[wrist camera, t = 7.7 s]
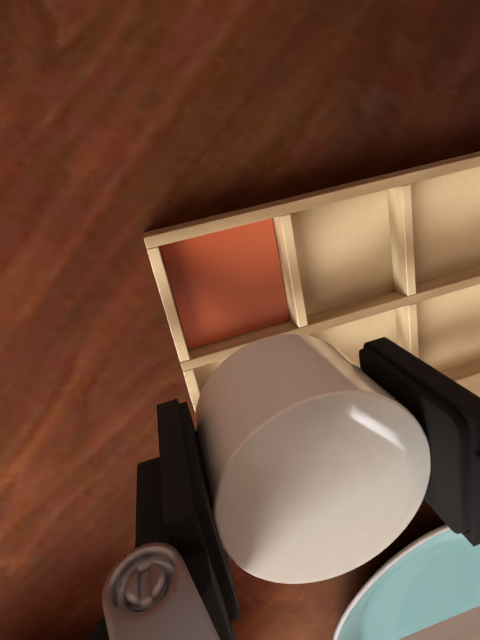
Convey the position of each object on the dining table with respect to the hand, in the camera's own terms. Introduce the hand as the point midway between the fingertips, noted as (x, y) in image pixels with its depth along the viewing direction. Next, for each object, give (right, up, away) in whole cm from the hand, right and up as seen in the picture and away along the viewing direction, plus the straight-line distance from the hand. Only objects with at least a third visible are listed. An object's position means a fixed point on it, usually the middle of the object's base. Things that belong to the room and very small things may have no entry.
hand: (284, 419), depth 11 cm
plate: (+16, -23, +27) cm, 39 cm away
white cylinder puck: (0, 0, 0) cm, 0 cm away
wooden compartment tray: (+6, 0, +16) cm, 18 cm away
